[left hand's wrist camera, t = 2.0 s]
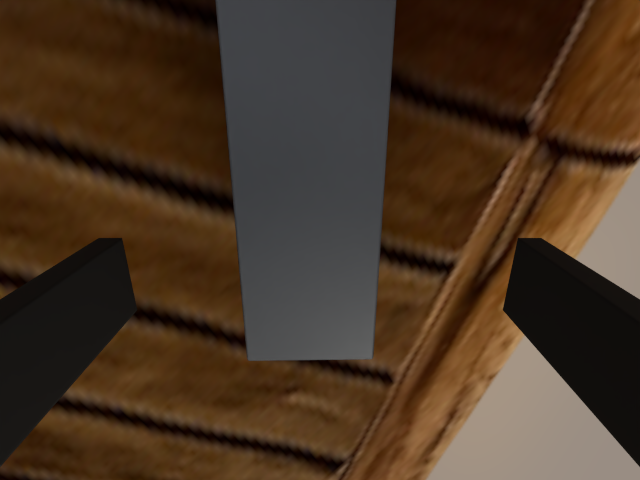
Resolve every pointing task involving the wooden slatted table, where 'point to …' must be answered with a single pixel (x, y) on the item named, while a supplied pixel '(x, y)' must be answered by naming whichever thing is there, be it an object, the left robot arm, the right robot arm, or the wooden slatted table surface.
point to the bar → (307, 169)
